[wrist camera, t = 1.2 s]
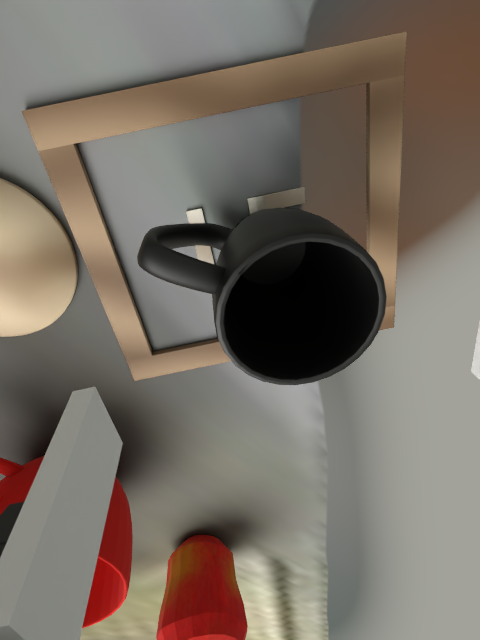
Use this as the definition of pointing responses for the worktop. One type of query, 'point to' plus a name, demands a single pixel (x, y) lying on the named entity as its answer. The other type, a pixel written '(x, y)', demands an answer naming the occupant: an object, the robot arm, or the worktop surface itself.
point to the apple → (202, 594)
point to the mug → (278, 291)
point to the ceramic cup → (114, 544)
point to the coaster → (32, 263)
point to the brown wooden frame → (229, 95)
